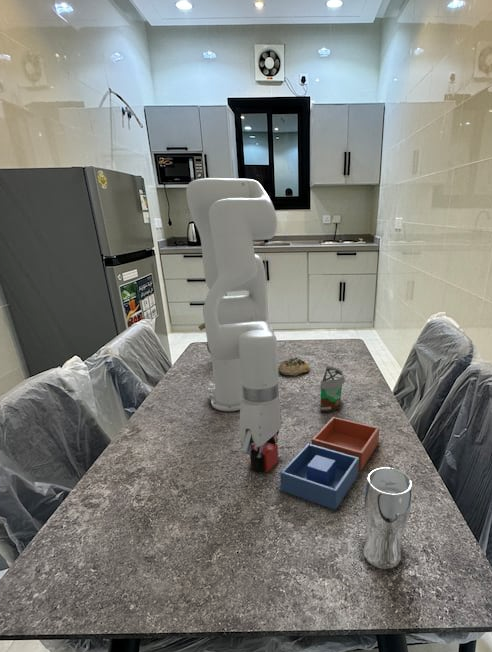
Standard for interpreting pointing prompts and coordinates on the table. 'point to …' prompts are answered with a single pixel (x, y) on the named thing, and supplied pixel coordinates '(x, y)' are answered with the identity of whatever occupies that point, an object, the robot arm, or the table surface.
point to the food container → (331, 389)
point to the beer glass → (386, 515)
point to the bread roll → (293, 367)
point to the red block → (269, 455)
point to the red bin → (348, 438)
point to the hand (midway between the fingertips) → (264, 462)
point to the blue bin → (327, 496)
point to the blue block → (321, 470)
